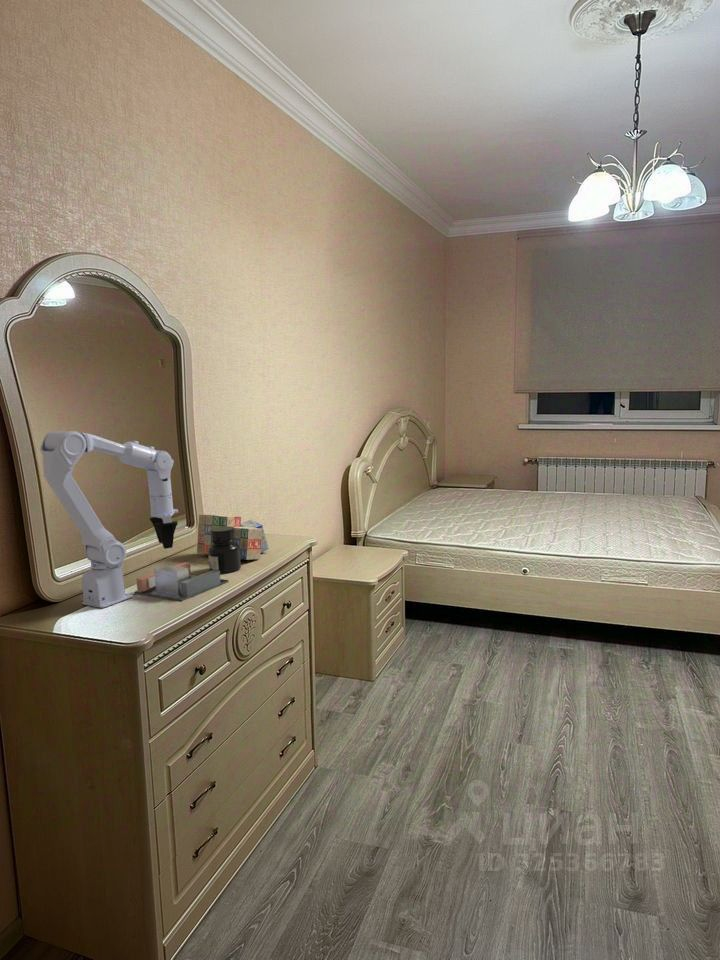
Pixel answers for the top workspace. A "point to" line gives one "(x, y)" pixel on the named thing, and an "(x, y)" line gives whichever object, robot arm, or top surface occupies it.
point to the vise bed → (170, 596)
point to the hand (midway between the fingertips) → (165, 545)
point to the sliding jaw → (149, 580)
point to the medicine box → (263, 541)
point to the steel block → (170, 579)
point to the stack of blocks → (243, 535)
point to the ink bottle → (224, 550)
